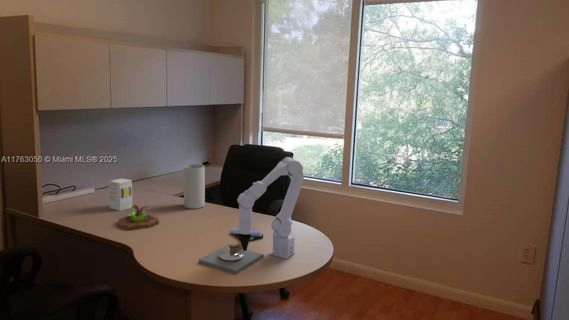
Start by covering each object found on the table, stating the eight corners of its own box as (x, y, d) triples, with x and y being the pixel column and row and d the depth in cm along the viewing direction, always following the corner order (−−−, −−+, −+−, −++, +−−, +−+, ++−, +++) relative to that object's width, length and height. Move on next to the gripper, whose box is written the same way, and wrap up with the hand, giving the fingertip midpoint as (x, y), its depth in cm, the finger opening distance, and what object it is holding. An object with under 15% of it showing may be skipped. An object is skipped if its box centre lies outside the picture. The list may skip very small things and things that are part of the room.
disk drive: (263, 239, 218) (247, 230, 230) (263, 234, 218) (247, 225, 230) (245, 243, 212) (230, 234, 224) (245, 238, 212) (230, 228, 223)
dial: (234, 263, 184) (234, 252, 183) (213, 257, 189) (213, 246, 188) (253, 252, 196) (253, 242, 195) (233, 247, 201) (233, 237, 200)
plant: (112, 222, 236) (111, 202, 233) (146, 215, 249) (146, 196, 246) (127, 233, 221) (126, 212, 219) (163, 225, 234) (162, 205, 232)
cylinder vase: (207, 204, 273) (207, 164, 269) (200, 209, 261) (200, 168, 257) (188, 202, 275) (188, 163, 271) (180, 208, 263) (179, 167, 259)
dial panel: (263, 257, 195) (263, 254, 195) (236, 274, 178) (236, 270, 178) (227, 247, 205) (227, 244, 205) (198, 262, 188) (198, 258, 188)
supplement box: (120, 211, 255) (118, 183, 251) (109, 208, 259) (108, 180, 256) (133, 207, 263) (132, 179, 260) (122, 204, 267) (121, 177, 264)
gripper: (263, 219, 193) (263, 248, 196) (231, 216, 196) (231, 245, 198) (260, 224, 187) (259, 254, 189) (227, 221, 189) (227, 251, 191)
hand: (245, 250), depth 193 cm, fingers closed
